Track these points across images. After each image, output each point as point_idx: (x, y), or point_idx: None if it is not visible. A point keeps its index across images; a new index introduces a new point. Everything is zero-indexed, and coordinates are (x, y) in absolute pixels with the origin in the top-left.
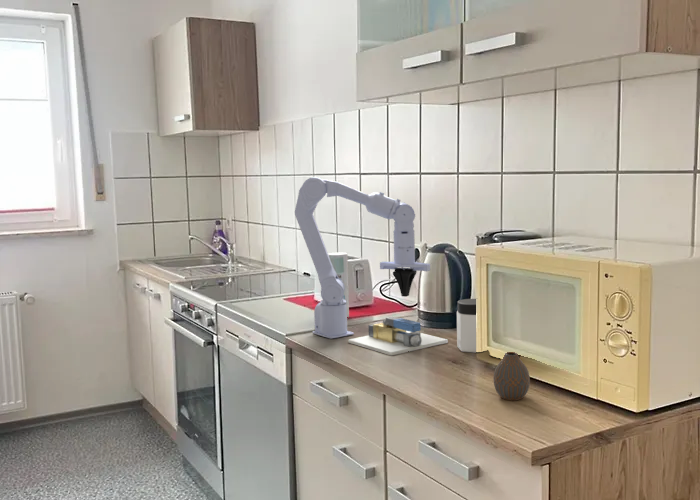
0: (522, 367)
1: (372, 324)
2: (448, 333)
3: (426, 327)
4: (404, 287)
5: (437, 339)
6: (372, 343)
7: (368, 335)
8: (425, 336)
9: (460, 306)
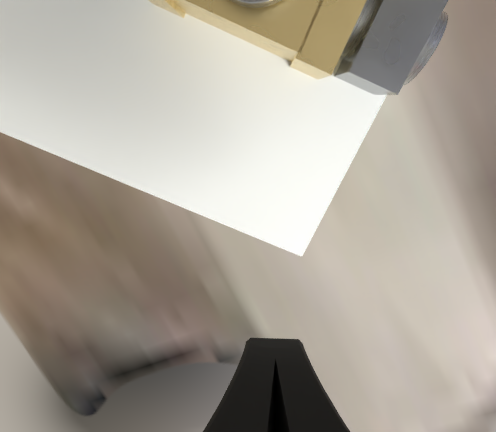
0: None
1: (434, 14)
2: (82, 287)
3: (230, 354)
4: (244, 408)
5: (9, 96)
6: None
7: None
8: (102, 135)
9: None
